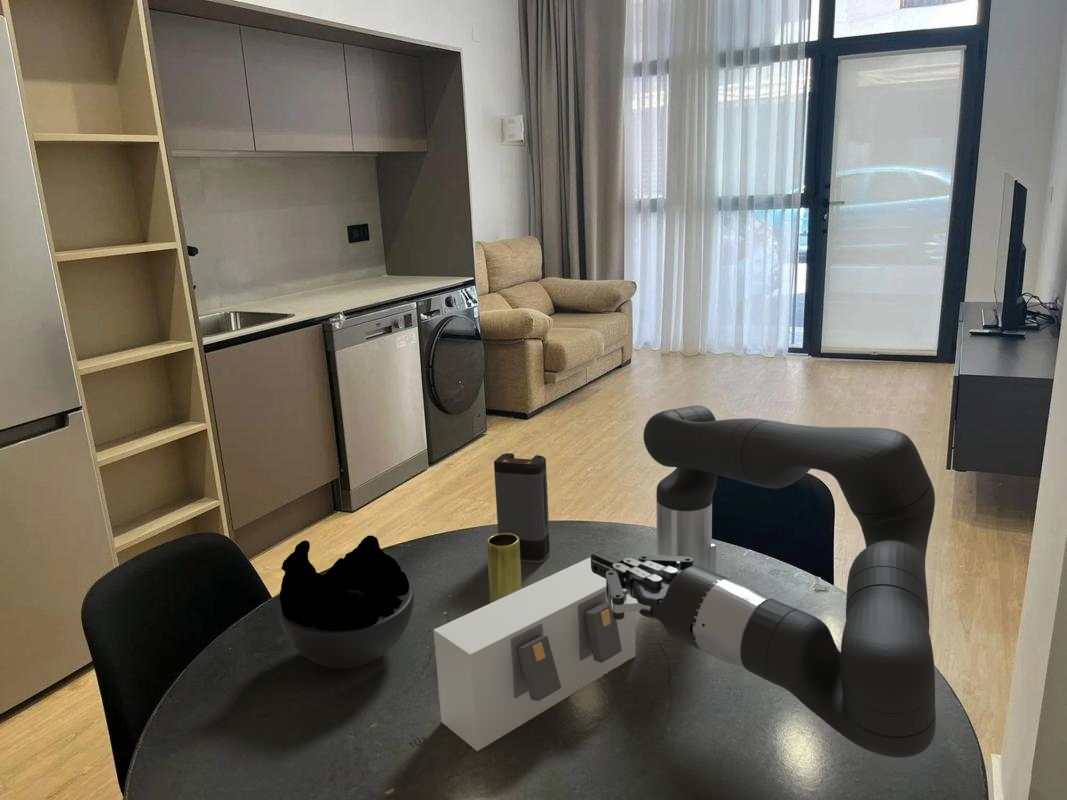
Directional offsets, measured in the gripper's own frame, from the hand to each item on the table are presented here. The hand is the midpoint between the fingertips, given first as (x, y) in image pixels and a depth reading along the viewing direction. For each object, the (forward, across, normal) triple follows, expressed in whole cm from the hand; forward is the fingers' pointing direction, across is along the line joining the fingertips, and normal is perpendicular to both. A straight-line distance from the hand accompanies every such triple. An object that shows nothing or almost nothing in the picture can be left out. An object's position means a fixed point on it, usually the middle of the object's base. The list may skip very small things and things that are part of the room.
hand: (595, 560), depth 90 cm
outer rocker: (+9, 0, +22) cm, 24 cm away
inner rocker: (+10, -12, +22) cm, 27 cm away
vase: (+35, -14, +28) cm, 47 cm away
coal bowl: (+43, +10, +28) cm, 53 cm away
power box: (+17, -6, +28) cm, 33 cm away
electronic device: (+50, -31, +28) cm, 66 cm away
